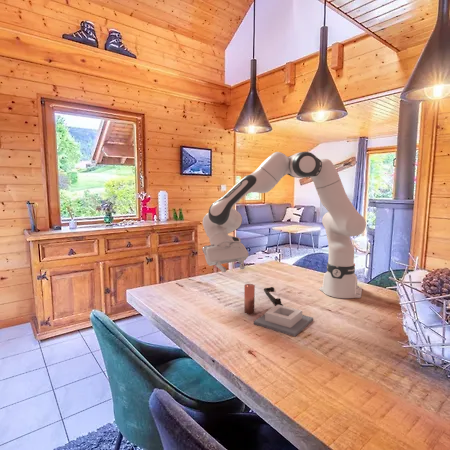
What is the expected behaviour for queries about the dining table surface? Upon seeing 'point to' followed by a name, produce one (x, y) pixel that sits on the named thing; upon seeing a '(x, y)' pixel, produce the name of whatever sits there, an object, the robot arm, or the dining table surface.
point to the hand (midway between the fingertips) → (233, 270)
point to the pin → (249, 298)
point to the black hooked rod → (275, 301)
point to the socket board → (285, 329)
